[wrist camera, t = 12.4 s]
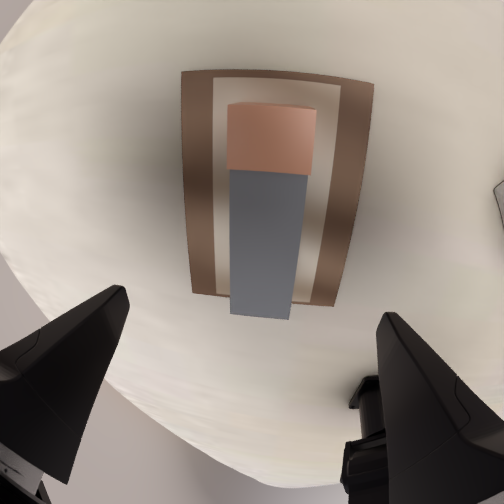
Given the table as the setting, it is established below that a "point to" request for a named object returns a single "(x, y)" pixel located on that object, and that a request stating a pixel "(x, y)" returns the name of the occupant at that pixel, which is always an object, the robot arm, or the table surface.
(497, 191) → the supplement box
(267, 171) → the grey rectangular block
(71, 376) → the robot arm
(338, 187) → the writing board
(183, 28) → the table surface
